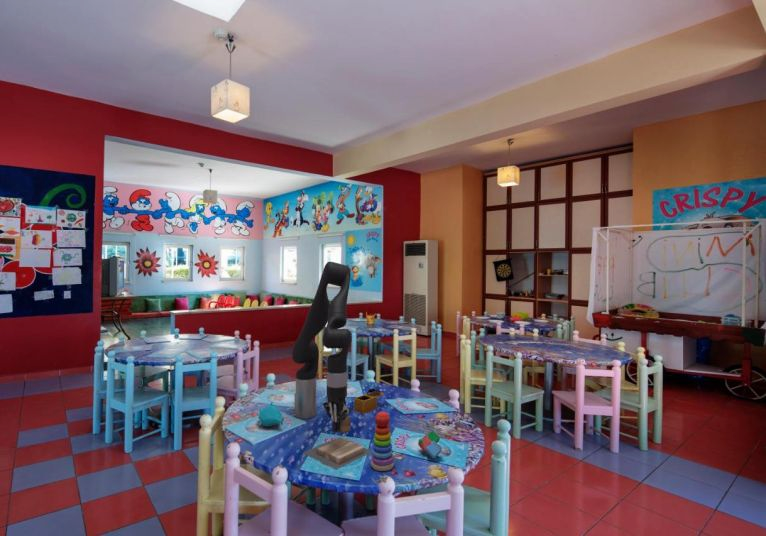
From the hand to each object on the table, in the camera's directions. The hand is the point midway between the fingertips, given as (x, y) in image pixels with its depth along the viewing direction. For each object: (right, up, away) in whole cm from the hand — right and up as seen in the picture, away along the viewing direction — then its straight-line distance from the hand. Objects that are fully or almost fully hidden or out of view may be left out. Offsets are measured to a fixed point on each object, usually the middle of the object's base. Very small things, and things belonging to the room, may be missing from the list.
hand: (336, 431), depth 149 cm
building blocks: (+35, -9, +1) cm, 36 cm away
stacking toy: (+17, -9, -9) cm, 21 cm away
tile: (-3, -6, +2) cm, 7 cm away
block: (+1, -8, +19) cm, 21 cm away
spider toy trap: (+11, -8, +47) cm, 49 cm away
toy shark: (-30, -8, +24) cm, 39 cm away
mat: (+1, -8, -1) cm, 8 cm away
